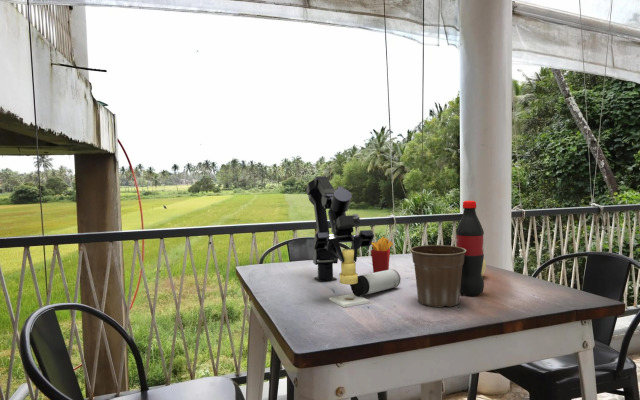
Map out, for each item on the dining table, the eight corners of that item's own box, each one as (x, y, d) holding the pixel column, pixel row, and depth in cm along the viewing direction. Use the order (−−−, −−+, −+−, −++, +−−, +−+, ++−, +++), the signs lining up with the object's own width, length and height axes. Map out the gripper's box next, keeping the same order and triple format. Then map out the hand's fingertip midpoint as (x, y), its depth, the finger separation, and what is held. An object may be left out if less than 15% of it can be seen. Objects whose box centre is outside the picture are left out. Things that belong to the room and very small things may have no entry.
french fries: (370, 275, 164) (370, 237, 163) (375, 271, 171) (374, 234, 171) (393, 277, 161) (392, 238, 160) (396, 272, 168) (396, 235, 168)
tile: (329, 300, 131) (329, 297, 131) (354, 296, 135) (354, 293, 135) (343, 307, 123) (343, 304, 123) (369, 302, 127) (369, 300, 127)
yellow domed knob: (335, 282, 129) (335, 250, 128) (347, 279, 133) (347, 247, 132) (349, 285, 125) (349, 252, 125) (361, 281, 129) (360, 249, 129)
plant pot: (459, 313, 116) (458, 255, 115) (403, 305, 124) (402, 251, 123) (472, 298, 129) (471, 246, 129) (421, 292, 138) (420, 243, 137)
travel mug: (404, 283, 142) (366, 292, 128) (390, 289, 146) (352, 299, 132) (397, 266, 144) (359, 273, 130) (383, 272, 148) (345, 280, 134)
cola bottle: (483, 291, 138) (483, 199, 136) (484, 298, 130) (484, 201, 128) (456, 289, 140) (455, 200, 139) (456, 296, 132) (455, 201, 131)
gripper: (314, 206, 130) (323, 247, 119) (371, 204, 134) (385, 244, 124) (310, 229, 138) (318, 269, 127) (364, 226, 142) (376, 265, 132)
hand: (349, 261), depth 127 cm, fingers closed on yellow domed knob, 4 cm apart
